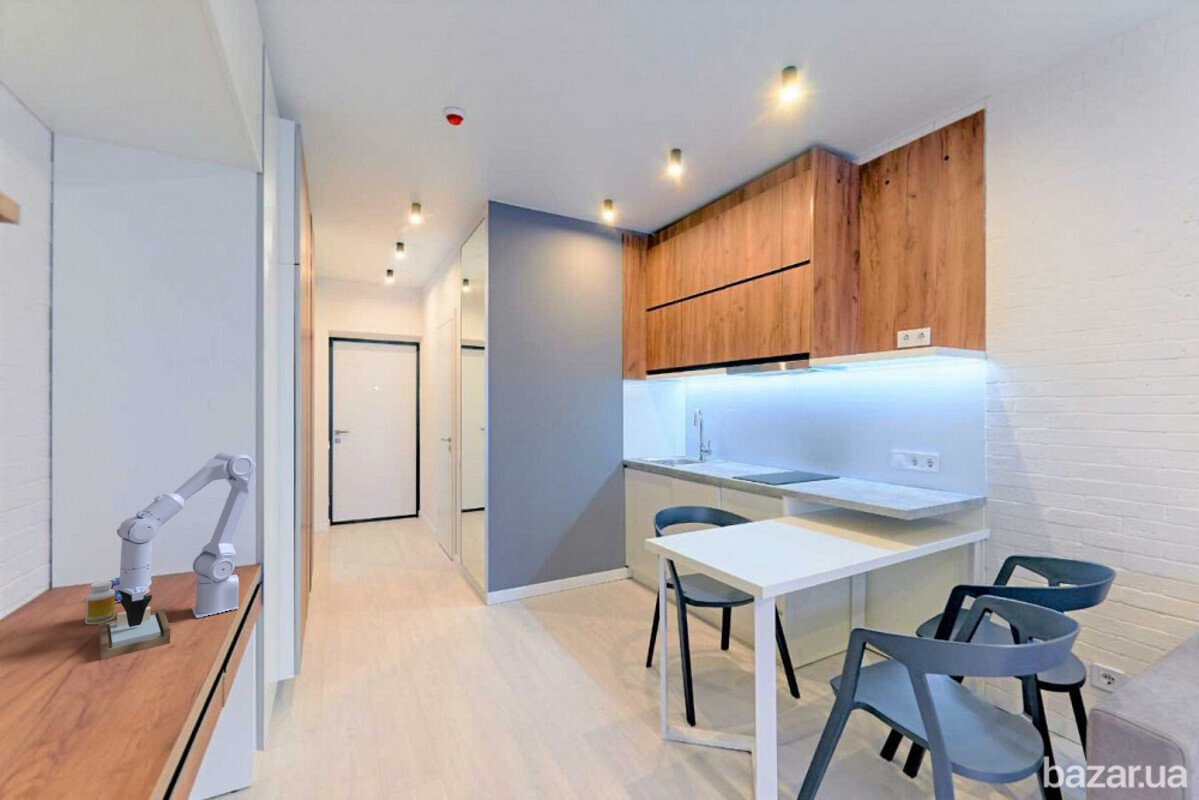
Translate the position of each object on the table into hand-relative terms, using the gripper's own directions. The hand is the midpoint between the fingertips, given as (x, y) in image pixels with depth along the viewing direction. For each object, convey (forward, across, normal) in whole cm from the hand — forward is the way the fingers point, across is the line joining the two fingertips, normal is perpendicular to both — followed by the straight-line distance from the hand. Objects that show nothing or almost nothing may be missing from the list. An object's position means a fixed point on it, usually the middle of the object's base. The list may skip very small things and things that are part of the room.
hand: (133, 619), depth 125 cm
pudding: (+4, -31, 0) cm, 31 cm away
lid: (+2, +4, 0) cm, 4 cm away
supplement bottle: (+4, -15, -6) cm, 16 cm away
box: (+4, +3, 0) cm, 5 cm away
